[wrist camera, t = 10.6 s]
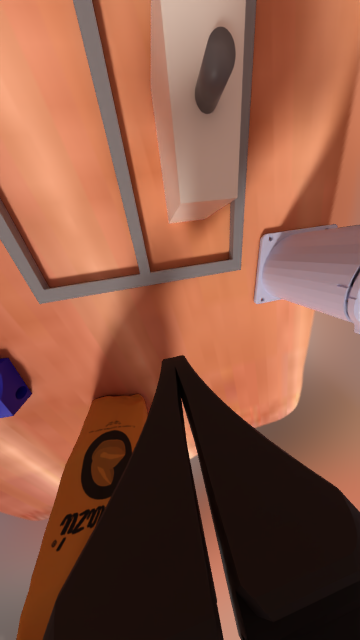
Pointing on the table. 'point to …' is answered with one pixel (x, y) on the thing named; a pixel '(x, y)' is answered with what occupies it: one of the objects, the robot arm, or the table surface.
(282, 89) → the table surface
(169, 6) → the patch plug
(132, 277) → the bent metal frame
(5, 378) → the cable clip
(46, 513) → the table surface
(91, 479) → the coffee package
